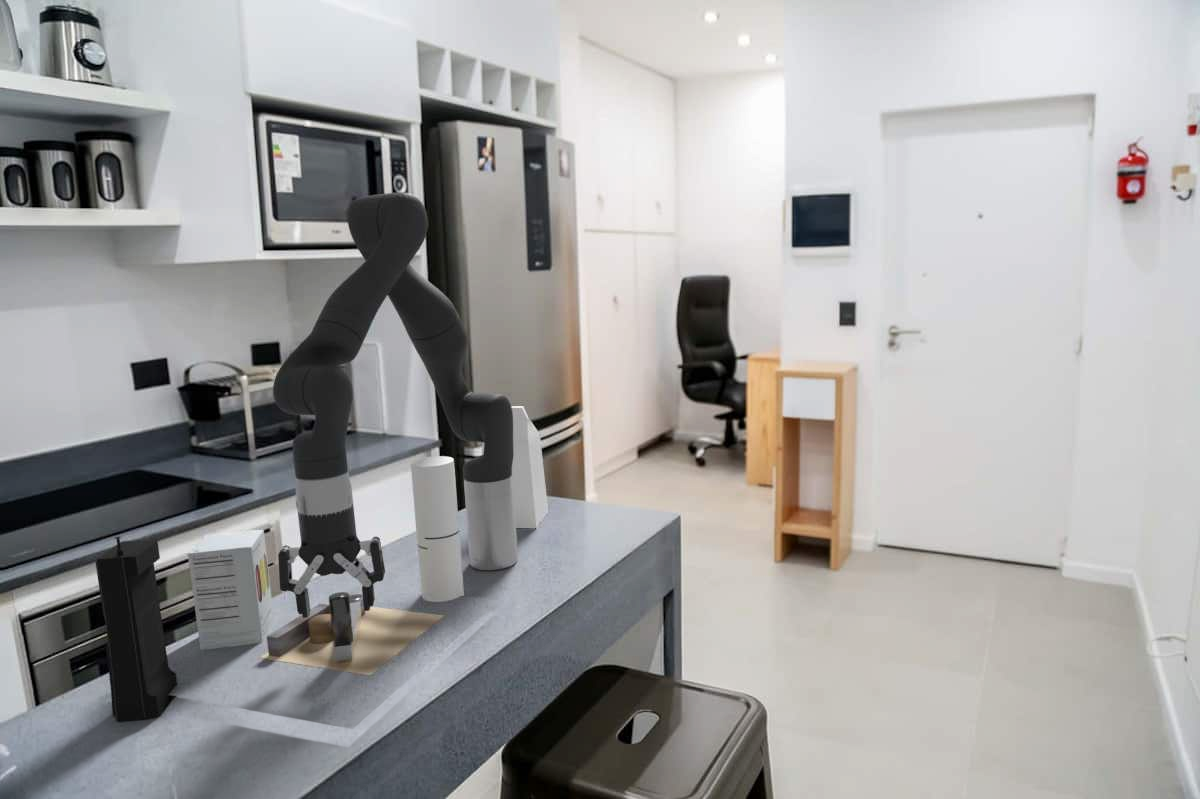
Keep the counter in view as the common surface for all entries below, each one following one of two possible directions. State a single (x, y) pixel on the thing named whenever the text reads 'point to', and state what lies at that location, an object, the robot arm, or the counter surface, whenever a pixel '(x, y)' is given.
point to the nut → (320, 629)
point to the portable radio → (134, 631)
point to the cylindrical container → (437, 528)
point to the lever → (345, 623)
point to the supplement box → (231, 589)
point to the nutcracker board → (374, 644)
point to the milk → (527, 472)
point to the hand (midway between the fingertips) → (337, 612)
